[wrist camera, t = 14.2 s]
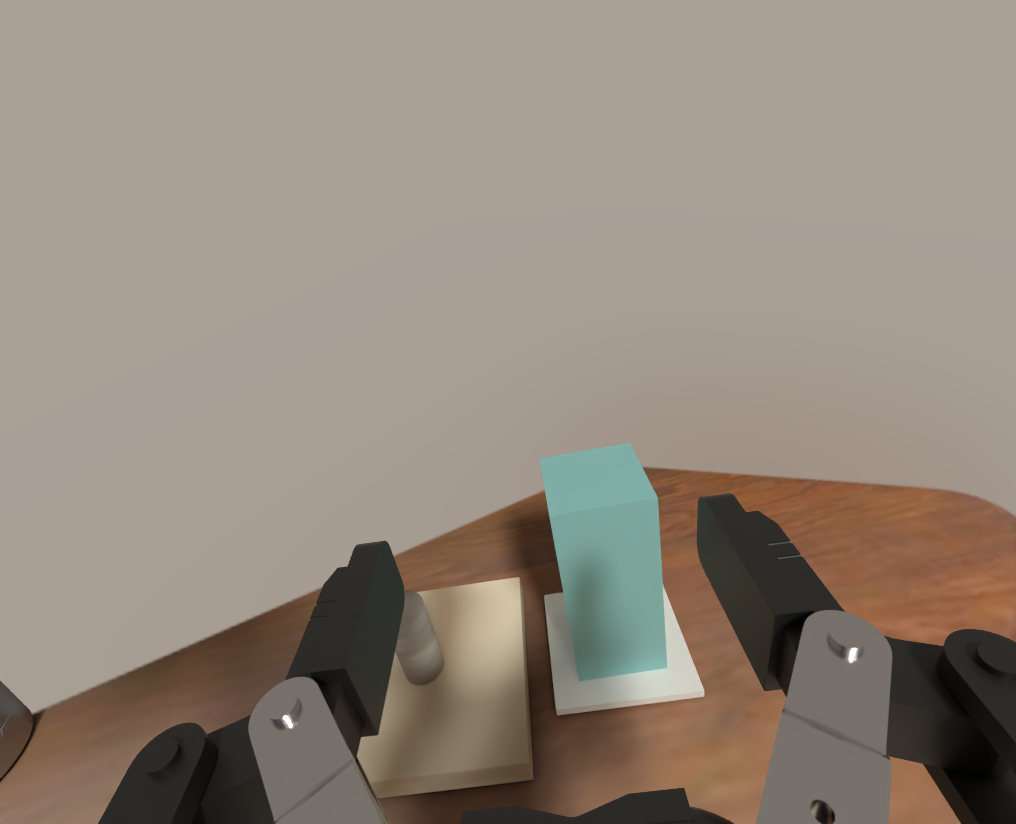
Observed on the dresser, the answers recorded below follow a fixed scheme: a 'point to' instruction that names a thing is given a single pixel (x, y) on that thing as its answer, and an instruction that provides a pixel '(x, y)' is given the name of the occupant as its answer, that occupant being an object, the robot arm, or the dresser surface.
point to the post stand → (455, 694)
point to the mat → (622, 688)
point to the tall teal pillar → (608, 559)
